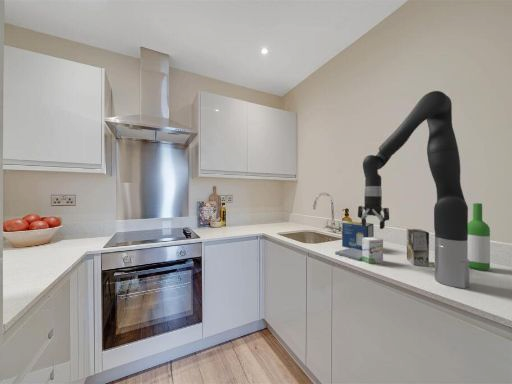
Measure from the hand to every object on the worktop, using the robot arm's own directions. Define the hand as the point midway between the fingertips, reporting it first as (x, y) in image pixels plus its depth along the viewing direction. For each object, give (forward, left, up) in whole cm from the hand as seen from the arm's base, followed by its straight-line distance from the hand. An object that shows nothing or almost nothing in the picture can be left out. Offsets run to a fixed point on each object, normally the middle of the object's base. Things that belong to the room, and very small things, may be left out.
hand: (372, 227), depth 103 cm
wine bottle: (-31, -32, -17) cm, 48 cm away
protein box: (+19, -19, -17) cm, 32 cm away
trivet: (+11, -3, -17) cm, 21 cm away
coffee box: (-13, -17, -17) cm, 28 cm away
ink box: (0, 0, -17) cm, 17 cm away
